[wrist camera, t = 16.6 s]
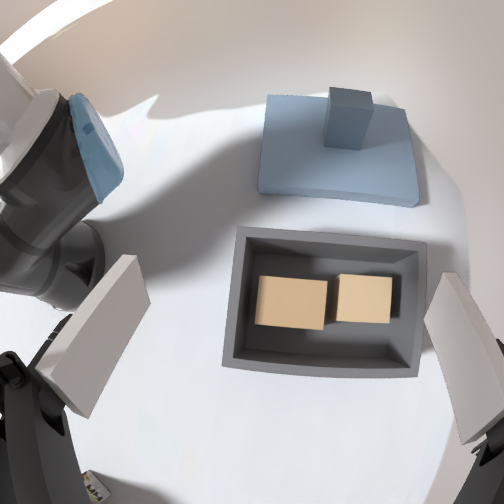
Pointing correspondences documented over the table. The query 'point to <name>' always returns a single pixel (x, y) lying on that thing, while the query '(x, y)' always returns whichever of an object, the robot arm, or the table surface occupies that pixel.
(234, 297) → the storage box
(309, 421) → the table surface
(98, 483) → the coffee box
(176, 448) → the table surface
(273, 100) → the lid
